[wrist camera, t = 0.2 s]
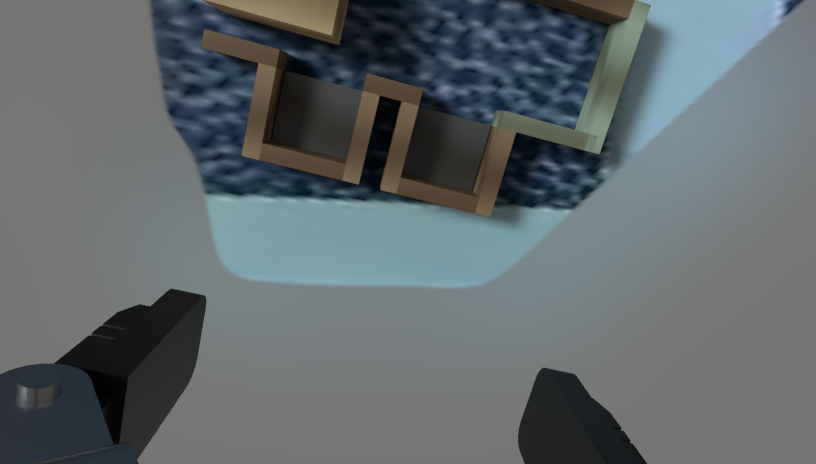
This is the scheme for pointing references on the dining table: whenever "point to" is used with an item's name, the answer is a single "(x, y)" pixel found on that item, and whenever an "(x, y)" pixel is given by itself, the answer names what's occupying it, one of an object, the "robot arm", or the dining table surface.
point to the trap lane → (420, 119)
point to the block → (292, 15)
